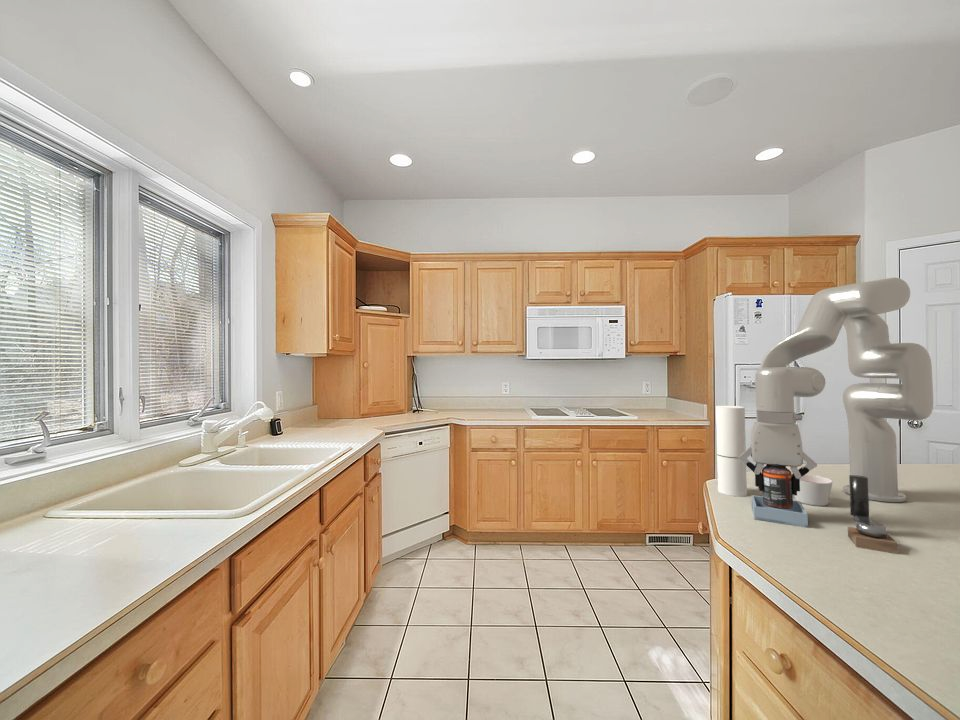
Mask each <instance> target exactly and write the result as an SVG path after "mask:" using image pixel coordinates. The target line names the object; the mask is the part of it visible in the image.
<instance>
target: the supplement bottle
mask: <svg viewBox="0 0 960 720" xmlns="http://www.w3.org/2000/svg"><path fill="white" fill-rule="evenodd" d="M761 473H762V476H763V491H762V497H763V503H764V504H765V505H767V506H769V507H772V508H777V509H791V508H792V507H793V501H794V495H793V493H792V474H793V473H792V470H791V469H790V468H789V469H788V468H787V466H783V465H779V464H771V465H768V464H765V465H764V466H763V468H762V470H761Z"/></svg>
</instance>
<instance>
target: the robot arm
mask: <svg viewBox="0 0 960 720" xmlns="http://www.w3.org/2000/svg"><path fill="white" fill-rule="evenodd" d="M910 298H911V288H910V286H909V285H908V283H907V282H906V281H905V280H903V279H902V278H900V277H890V278H889V277H887V278H883V279H881V278H880V279H875V280H870V281H869V280H868V281H864V282H862V281H861V282H856V283H851V284H845V285H840V286H839V285H838V286H834V287H828V288H824V289H821V290H819V291H817V292H816V293H815V294H813V296H812V297H811V298H810V301H809V303H808V304H807V307H806V308H805V311H804V313H803V315H802V317H801V319H800V322H799V324H798V326H797V327H796V330H795V331H794V332H793V333H791V334H790V335H789V336H787V337H785V338H784V339H782V340H781V341H780V342H778V343H777V344H776V345H774V346H773V347H772V348H770V349H769V350H768V351H767V352H766V353H765V355H764V356H763V358H762V360H761V362H760V364H759V366H758V369H757V370H756V372H755V376H754V377H755V409H756V410H755V411H756V412H755V413H756V419H755V420H756V421H753V422H752V426H751V432H750V446H749V448H748V449H746V451H745V452H744V453H742V454H741V455H740V456H739V459H740V460H741V461H742V462H743V463H744V464H745V465H746V468H749V470H751V471H752V472H753V473H754V485H755V487H758V490H759V492H763V476H762V468H763V467H765V465H767V464H768V465H771V464H779V465H783V466H786V467H789V469H790V471H791V474H792V493H793V496H794V495H796V496H797V491H799V492H800V479H801V477H802V476H804V475H805V474H806V475H808V473H809V472H811V471H812V470H814V469H815V468H816V467H818V464H817V463H816V462H815V460H813V459H812V458H811V457H810V456H809V455H807V454H806V453H805V452H804V450H803V442H802V436H801V432H800V427H799V425H798V424H797V423H796V422H799V421H802V420H803V415H802V414H798V413H796V412H795V399H794V398H796V397H797V398H812V397H816V396H818V395H819V394H821V393H823V391H824V389H825V387H826V378H825V376H824V374H823V373H822V372H821V371H819V370H818V369H816V368H814V367H808V366H789V365H790V364H791V363H793V362H796V360H799V359H801V358H804V357H806V356H810V355H813V354H816V353H819V352H820V351H824V350H826V349H828V348H830V347H832V346H833V345H835V343H836V341H837V339H838V336H839V334H840V332H841V329H842V327H843V326H844V329H845V330H846V331H845V332H846V341H847V343H846V344H847V359H848V360H847V362H848V368H849V372H850V373H851V374H852V375H853V376H855V377H858V378H864V379H865V378H866V379H896V380H897V379H898V380H900V381H901V383H887V382H859V383H853V384H851V385H848V386H847V387H846V388H845V389H844V391H843V392H842V393H843V394H842V403H843V406H844V410H845V414H846V419H847V426H848V427H847V428H848V446H849V447H848V448H849V449H848V452H849V457H848V458H849V475H859V476H864V477H867V478H868V494H869V501H870V500H871V501H876V502H877V501H878V502H885V503H886V502H887V503H903V502H906V501H907V497H908V496H907V495H906V494H904V493H902V492H900V491H899V479H898V458H897V457H898V455H897V436H896V431H895V430H894V428H893V427H892V426H891V424H890V423H889V422H888V421H887V420H886V419H894V420H902V421H903V420H906V421H924V420H926V419H928V418H929V417H930V416H931V414H932V413H933V409H934V387H933V370H932V369H933V366H932V360H931V356H930V353H929V352H928V349H926V348H925V347H924V346H923V345H921V344H918V343H915V342H898V343H893V342H892V343H891V342H890V334H889V325H888V324H887V322H886V321H885V320H884V319H883V318H882V317H881V316H880V315H881V314H886V313H891V312H894V311H898V310H900V309H902V308H903V307H905V306H906V305H907V304H908V302H909V301H910ZM750 456H751V458H752V461H753V462H754V463H755V464H754V463H753V462H751V461H750V460H749V459H748V458H749V457H750ZM804 461H805V462H806V464H805V465H804V466H803V464H804ZM798 467H800V468H799V469H798ZM843 492H845V494H848V495H850V484H847V485H844V486H843Z"/></svg>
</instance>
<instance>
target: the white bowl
mask: <svg viewBox="0 0 960 720" xmlns="http://www.w3.org/2000/svg"><path fill="white" fill-rule="evenodd" d="M833 482H834V481H833V480H831V479H830V478H828V477H824V476H820V475H814V474H805V475H804V476H802V477H801V479H800V492H799V491H797V496H796V495H793V499H794V501H800V503H801V504H803V505H808V506H809V505H810V506H815V507H824V506H827V505H828V504H829V502H830V497H831V493H832V487H833Z"/></svg>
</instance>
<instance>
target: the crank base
mask: <svg viewBox="0 0 960 720" xmlns="http://www.w3.org/2000/svg"><path fill="white" fill-rule="evenodd" d="M886 534H887V536H886V537H874V536H869V535H865V534H862V533H860V532H858V531H857V530H856V527H853V526H847V536H848V538H849V540H850V541H851V542H852V543H853V545H854V544H855V545H854V546H855V547H856V548H860V547H862V549H866V548H867V550H872V551H879V552H886V553H892V554H897V555H898V554H899V553H898V549H899V548H898V542H897V541H896V540H894V538H893V537H892V536H890V534H889V533H888V532H886Z"/></svg>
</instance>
